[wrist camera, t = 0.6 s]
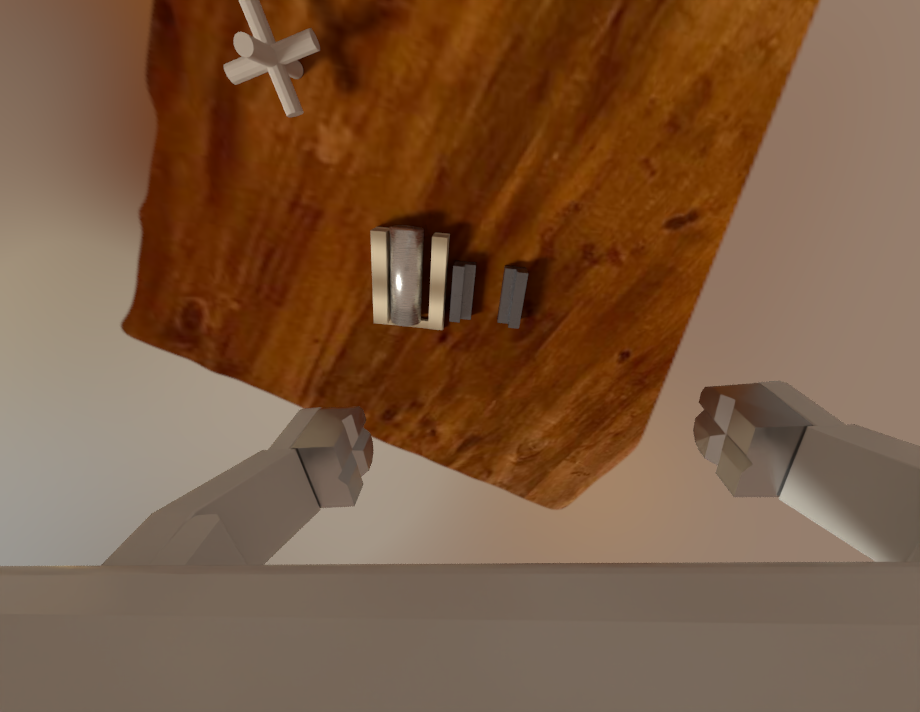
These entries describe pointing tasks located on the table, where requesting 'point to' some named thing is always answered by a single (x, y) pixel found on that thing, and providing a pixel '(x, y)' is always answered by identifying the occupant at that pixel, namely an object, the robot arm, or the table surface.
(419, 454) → the table surface
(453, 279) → the dark blocks
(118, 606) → the robot arm
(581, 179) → the table surface
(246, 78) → the pipe connector
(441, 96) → the table surface
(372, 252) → the beige u-shaped bracket
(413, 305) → the axle
